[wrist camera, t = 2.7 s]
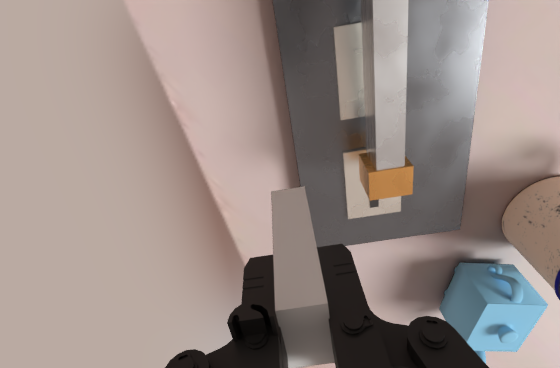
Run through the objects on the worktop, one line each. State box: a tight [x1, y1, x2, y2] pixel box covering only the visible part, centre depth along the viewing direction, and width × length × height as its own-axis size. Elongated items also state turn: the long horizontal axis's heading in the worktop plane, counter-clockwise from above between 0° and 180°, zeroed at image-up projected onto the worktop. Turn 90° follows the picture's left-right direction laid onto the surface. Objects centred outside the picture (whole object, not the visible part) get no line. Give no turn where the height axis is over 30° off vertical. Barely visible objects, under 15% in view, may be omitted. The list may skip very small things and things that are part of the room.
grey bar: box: [358, 0, 414, 201], centre depth 23 cm, size 18×4×6 cm, turn 9°
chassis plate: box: [273, 0, 489, 247], centre depth 29 cm, size 28×15×2 cm, turn 9°
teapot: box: [439, 262, 548, 364], centre depth 38 cm, size 12×6×8 cm, turn 175°
